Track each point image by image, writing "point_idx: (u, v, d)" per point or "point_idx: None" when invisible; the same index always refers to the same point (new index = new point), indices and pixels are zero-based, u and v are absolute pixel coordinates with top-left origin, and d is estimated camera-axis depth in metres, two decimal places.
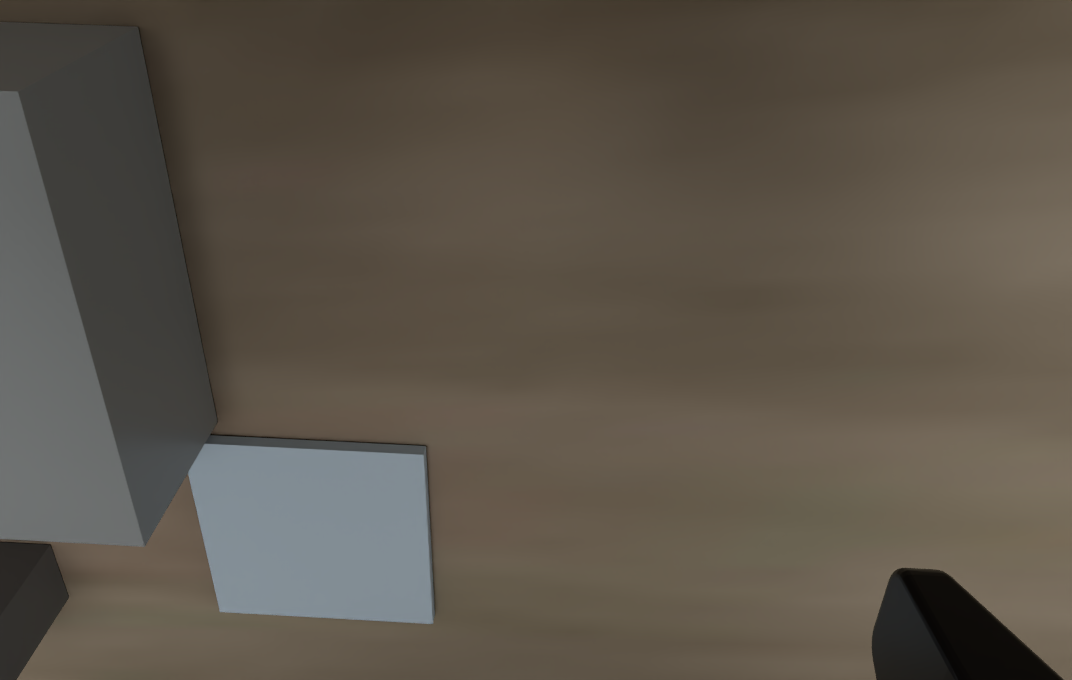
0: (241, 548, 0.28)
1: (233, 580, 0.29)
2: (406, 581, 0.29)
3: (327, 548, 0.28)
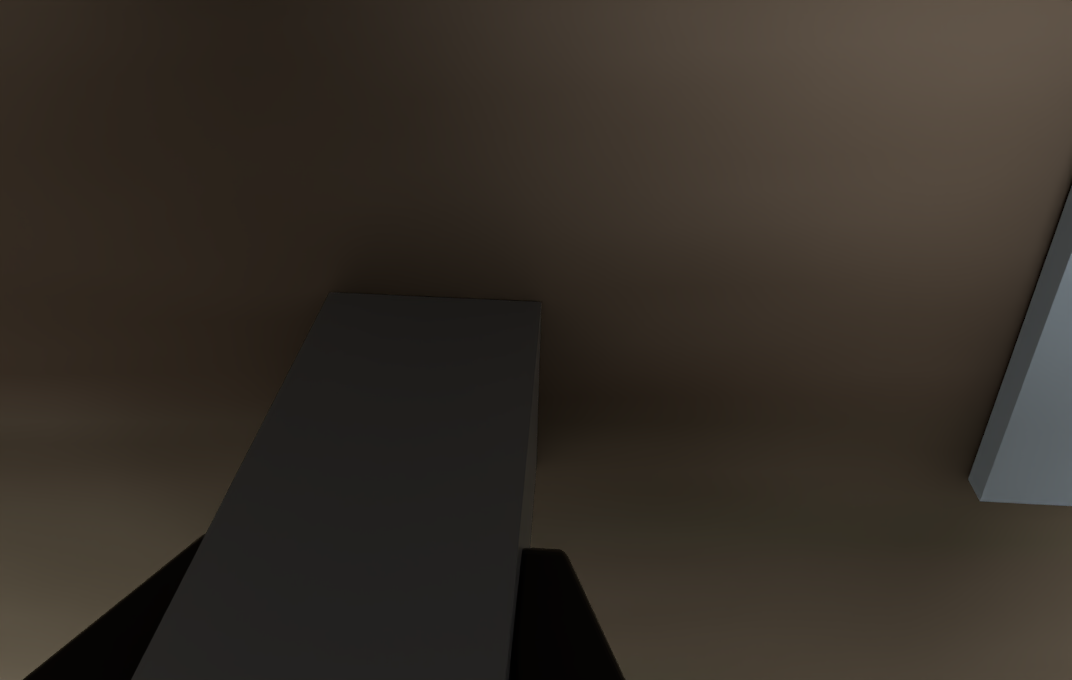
0: None
1: None
2: None
3: None
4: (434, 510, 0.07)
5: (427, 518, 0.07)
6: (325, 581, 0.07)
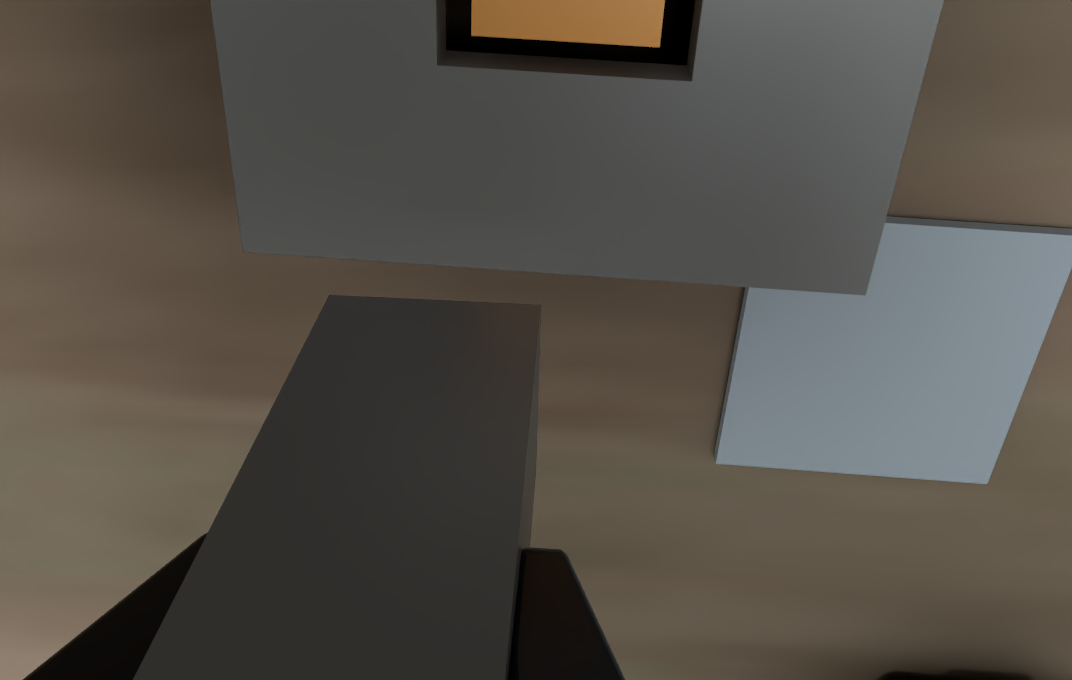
0: (780, 372, 0.22)
1: (751, 419, 0.23)
2: (979, 422, 0.23)
3: (894, 374, 0.22)
4: (433, 515, 0.07)
5: (425, 522, 0.07)
6: (324, 584, 0.07)
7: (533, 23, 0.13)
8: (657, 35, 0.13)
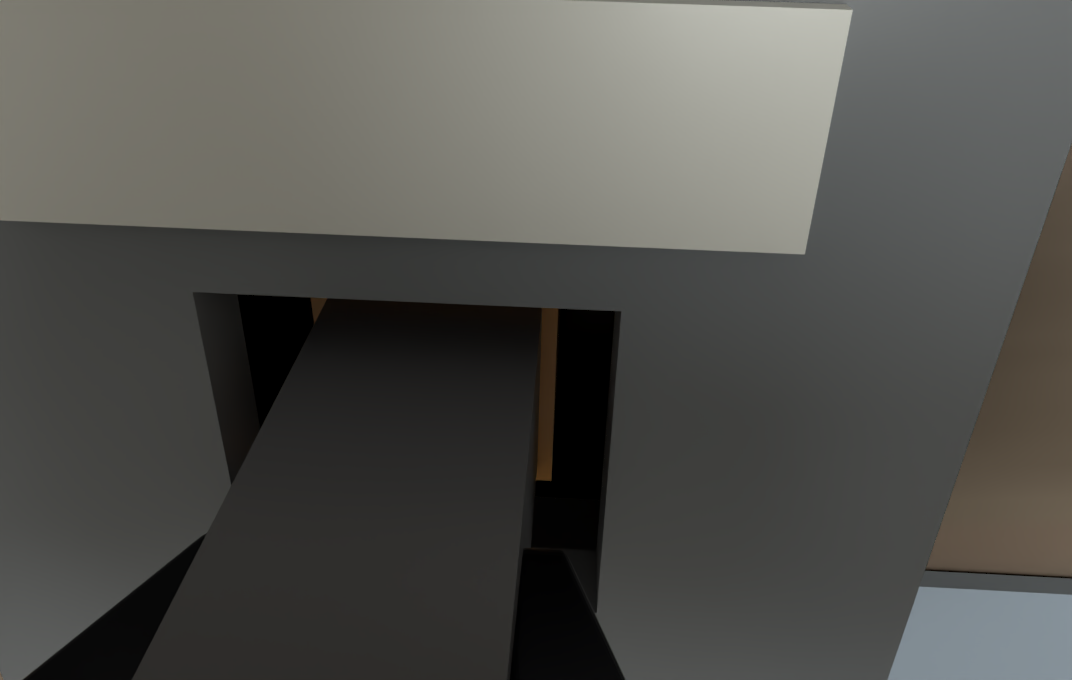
0: None
1: None
2: None
3: None
4: (434, 512, 0.07)
5: (429, 521, 0.07)
6: (325, 583, 0.07)
7: None
8: (547, 470, 0.11)
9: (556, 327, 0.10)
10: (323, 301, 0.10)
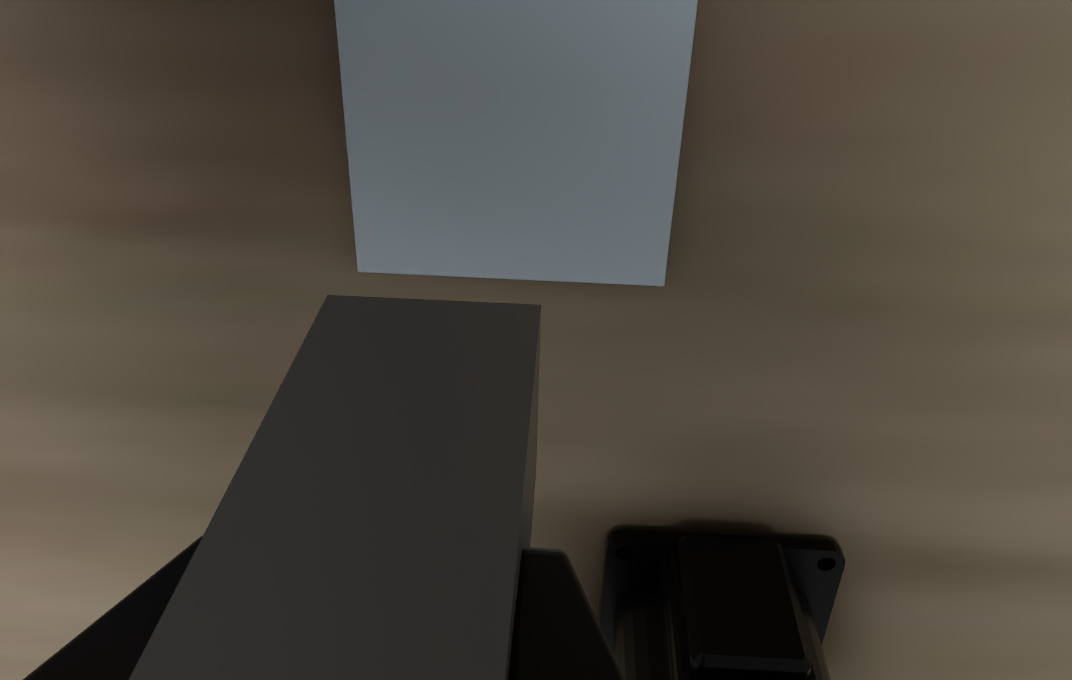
0: (401, 152, 0.19)
1: (383, 213, 0.20)
2: (638, 207, 0.20)
3: (529, 148, 0.19)
4: (432, 516, 0.07)
5: (425, 524, 0.07)
6: (321, 586, 0.07)
7: None
8: None
9: None
10: None
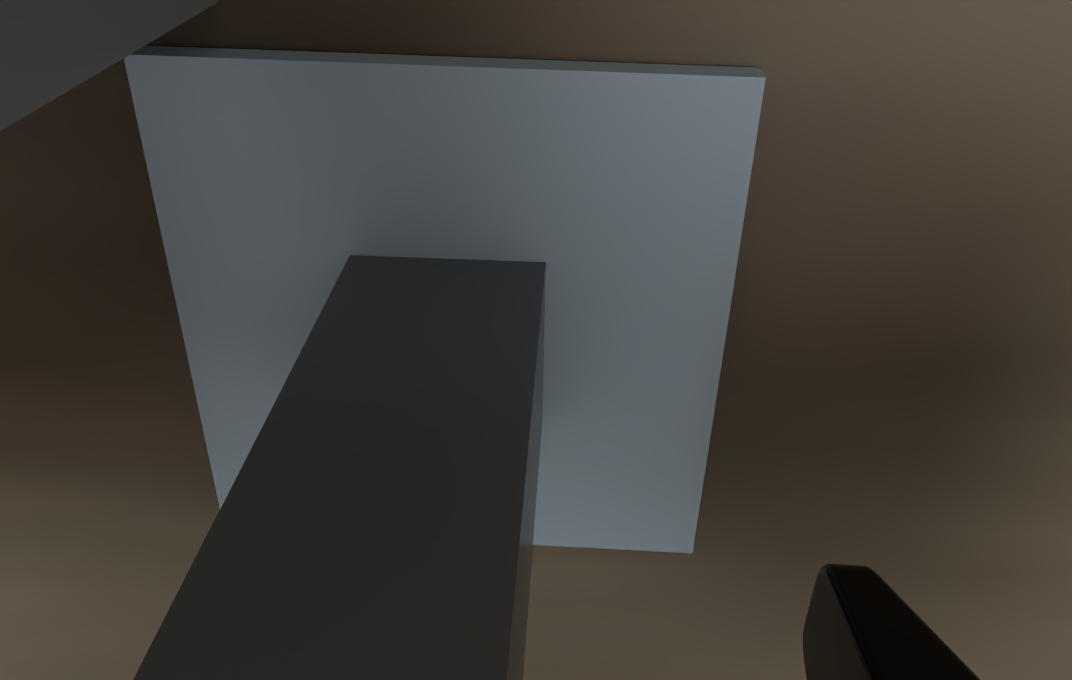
0: (274, 369, 0.12)
1: None
2: (652, 448, 0.12)
3: None
4: (450, 435, 0.08)
5: (446, 442, 0.08)
6: (355, 491, 0.07)
7: None
8: None
9: None
10: None
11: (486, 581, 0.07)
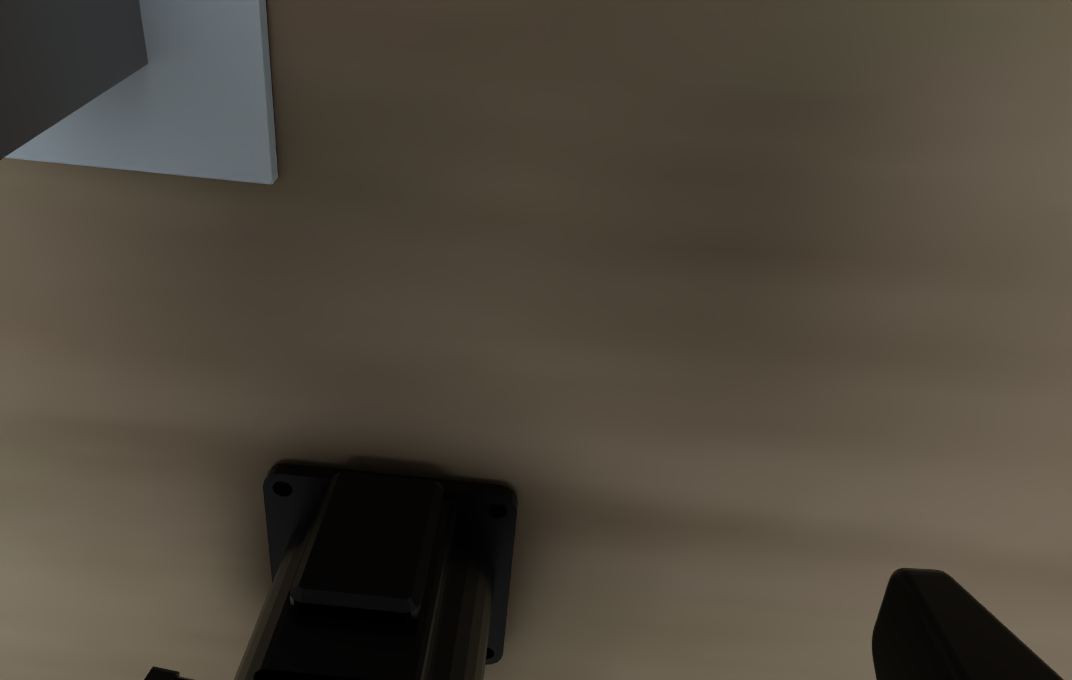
0: None
1: None
2: (228, 90, 0.18)
3: None
4: None
5: None
6: None
7: None
8: None
9: None
10: None
11: None
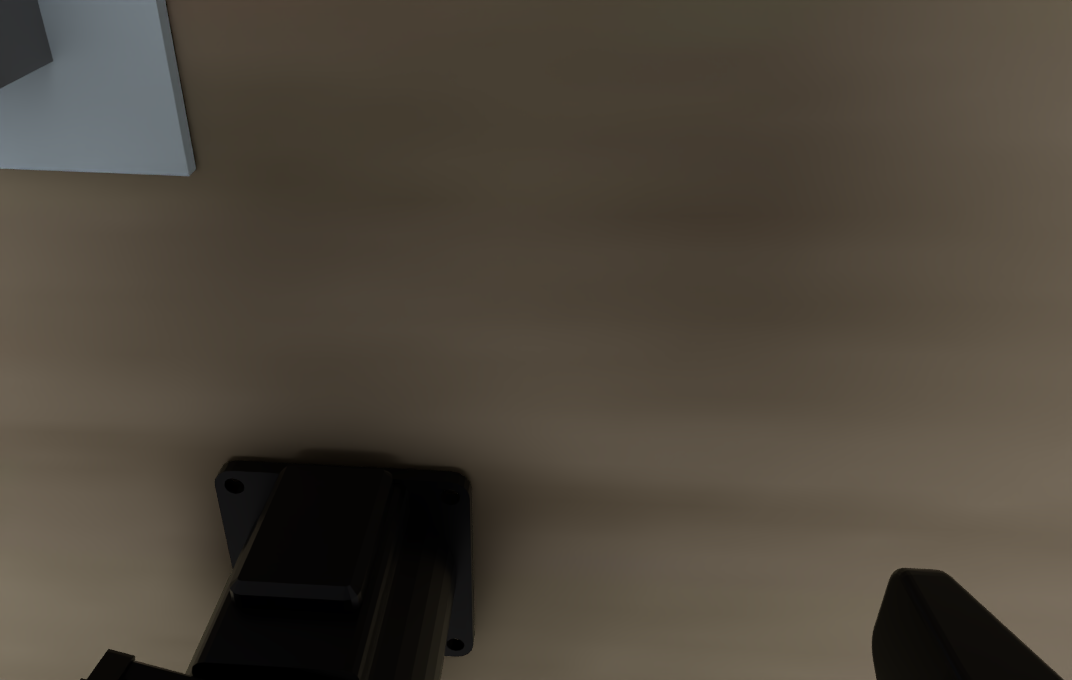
0: None
1: None
2: (134, 83, 0.18)
3: None
4: None
5: None
6: None
7: None
8: None
9: None
10: None
11: None
